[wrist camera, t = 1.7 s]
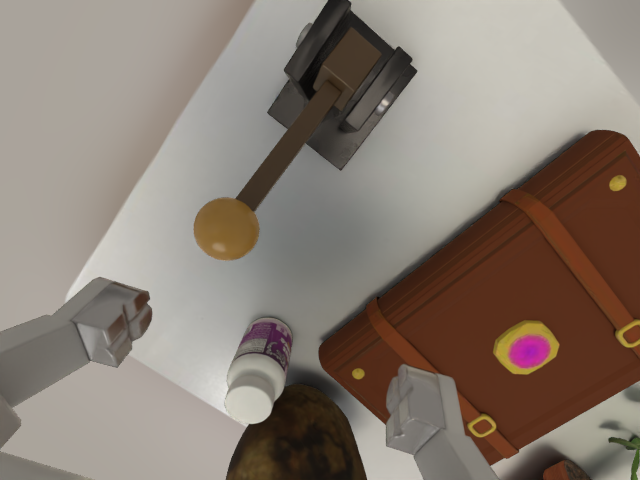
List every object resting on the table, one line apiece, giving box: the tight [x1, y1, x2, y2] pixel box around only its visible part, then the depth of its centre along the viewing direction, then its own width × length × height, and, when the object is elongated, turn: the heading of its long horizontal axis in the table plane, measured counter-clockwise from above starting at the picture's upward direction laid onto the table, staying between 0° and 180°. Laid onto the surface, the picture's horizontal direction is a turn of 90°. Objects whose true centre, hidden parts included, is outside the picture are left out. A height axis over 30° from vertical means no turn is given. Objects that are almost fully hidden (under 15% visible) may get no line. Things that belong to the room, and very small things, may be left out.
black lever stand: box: [267, 0, 417, 171], centre depth 22 cm, size 10×8×12 cm
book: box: [319, 130, 640, 466], centre depth 31 cm, size 23×32×5 cm
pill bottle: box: [225, 318, 292, 424], centre depth 31 cm, size 5×5×10 cm
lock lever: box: [193, 27, 382, 261], centre depth 17 cm, size 14×3×3 cm, turn 143°
